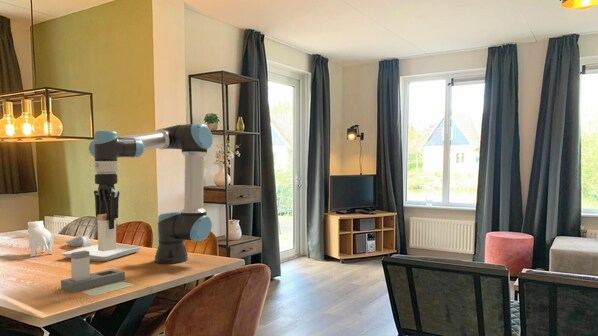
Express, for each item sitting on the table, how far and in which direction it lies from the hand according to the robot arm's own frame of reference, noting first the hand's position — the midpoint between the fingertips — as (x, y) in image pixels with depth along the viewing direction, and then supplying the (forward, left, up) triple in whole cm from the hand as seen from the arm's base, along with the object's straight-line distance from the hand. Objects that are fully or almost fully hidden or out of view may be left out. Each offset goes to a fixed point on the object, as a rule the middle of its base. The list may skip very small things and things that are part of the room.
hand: (107, 237), depth 156 cm
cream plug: (0, 0, -5) cm, 5 cm away
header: (0, -10, -20) cm, 22 cm away
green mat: (0, 0, -20) cm, 20 cm away
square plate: (-31, -60, -20) cm, 70 cm away
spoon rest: (-36, -92, -20) cm, 100 cm away
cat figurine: (-14, -90, -20) cm, 93 cm away
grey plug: (+5, -10, -19) cm, 22 cm away
